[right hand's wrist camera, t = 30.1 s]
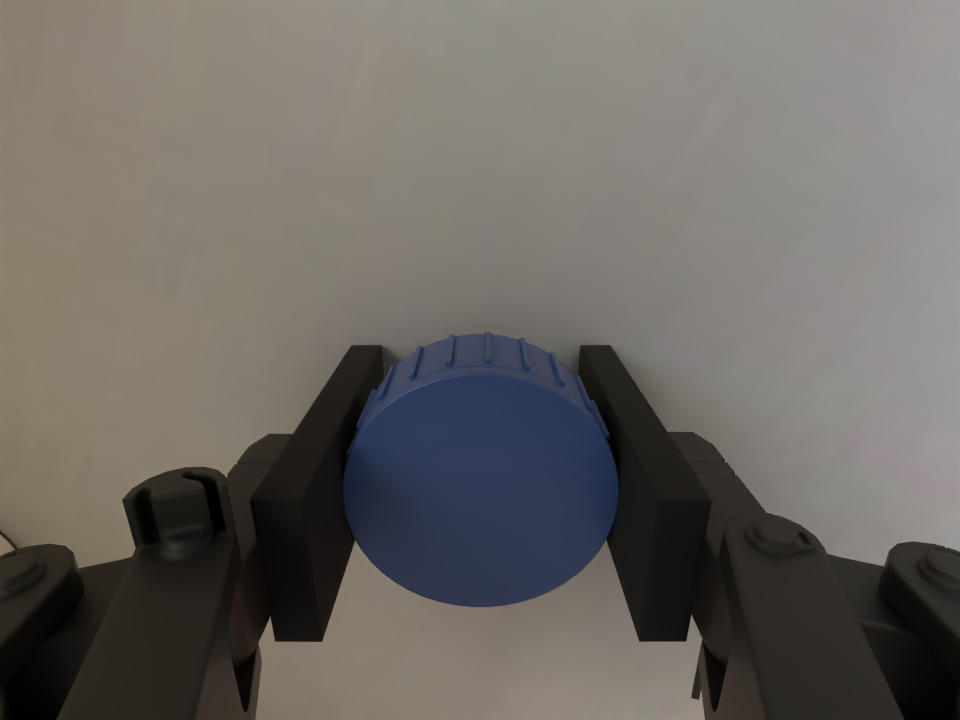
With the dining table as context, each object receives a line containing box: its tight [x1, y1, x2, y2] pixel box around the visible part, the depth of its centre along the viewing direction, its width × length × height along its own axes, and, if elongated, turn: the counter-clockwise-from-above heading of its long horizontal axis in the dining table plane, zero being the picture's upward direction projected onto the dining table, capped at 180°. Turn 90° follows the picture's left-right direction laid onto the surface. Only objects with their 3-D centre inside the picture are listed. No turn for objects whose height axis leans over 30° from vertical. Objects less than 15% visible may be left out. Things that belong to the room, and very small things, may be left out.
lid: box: [342, 332, 619, 607], centre depth 11 cm, size 5×5×2 cm
